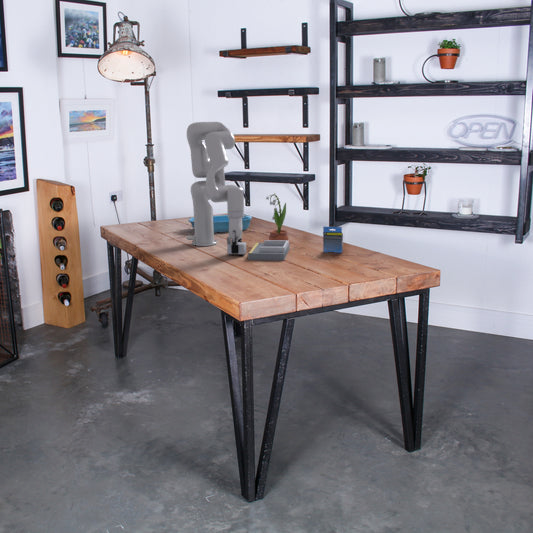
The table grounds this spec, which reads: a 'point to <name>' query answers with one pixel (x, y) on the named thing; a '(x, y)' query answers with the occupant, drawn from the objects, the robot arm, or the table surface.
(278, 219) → the potted flower
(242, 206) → the robot arm
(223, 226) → the casserole dish
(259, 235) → the table surface
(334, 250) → the label tape cartridge
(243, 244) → the lidded storage box
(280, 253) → the dock
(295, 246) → the table surface
